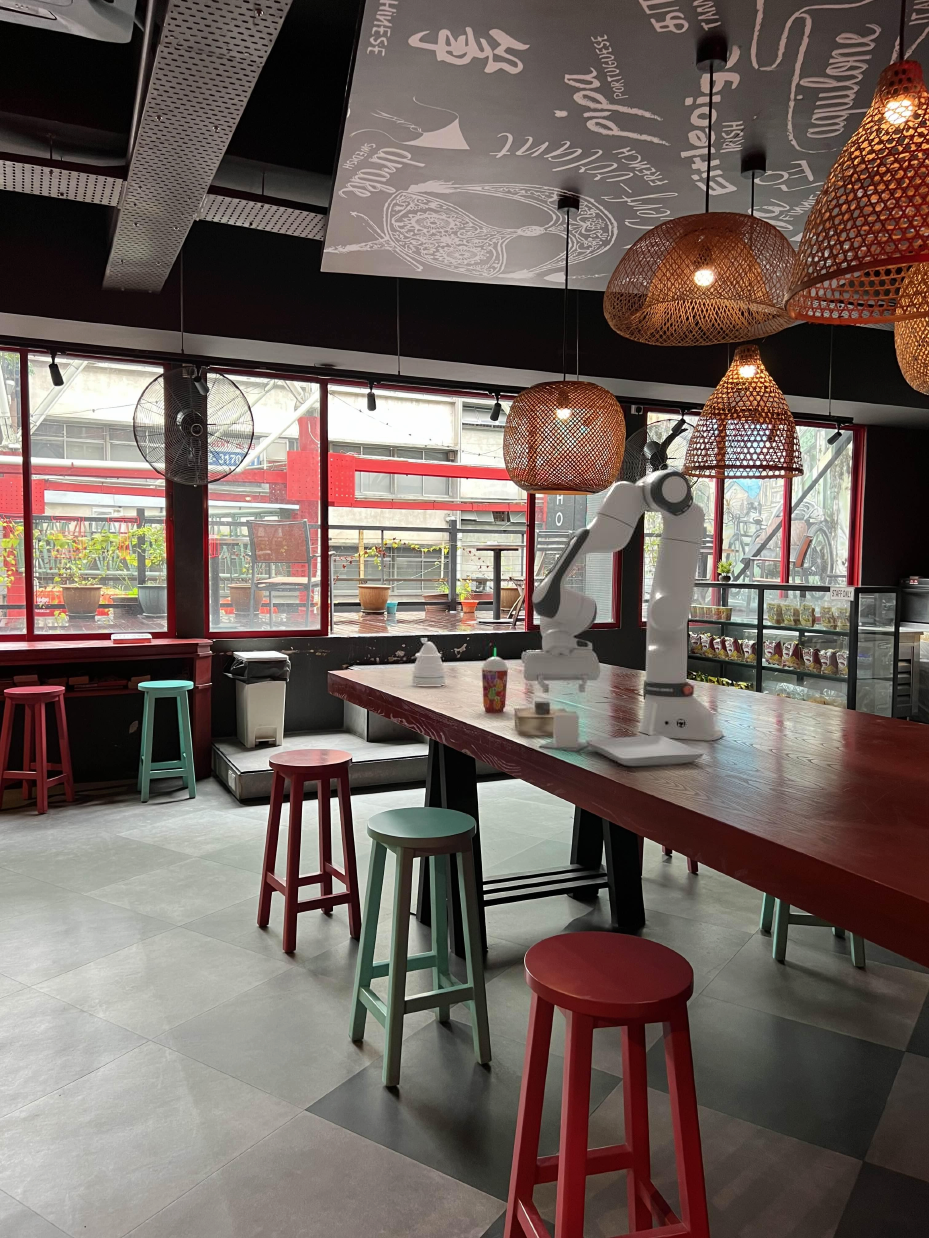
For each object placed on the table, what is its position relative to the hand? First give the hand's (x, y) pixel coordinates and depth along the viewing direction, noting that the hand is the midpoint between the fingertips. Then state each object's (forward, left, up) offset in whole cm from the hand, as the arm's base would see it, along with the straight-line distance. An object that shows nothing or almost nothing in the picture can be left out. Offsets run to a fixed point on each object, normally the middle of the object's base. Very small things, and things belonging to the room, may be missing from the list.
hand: (564, 691), depth 223 cm
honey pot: (+88, -76, -13) cm, 117 cm away
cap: (-3, +7, -13) cm, 15 cm away
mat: (-3, +7, -13) cm, 15 cm away
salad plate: (-24, +10, -14) cm, 29 cm away
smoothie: (+37, -32, -13) cm, 51 cm away
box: (+11, -10, -13) cm, 20 cm away
